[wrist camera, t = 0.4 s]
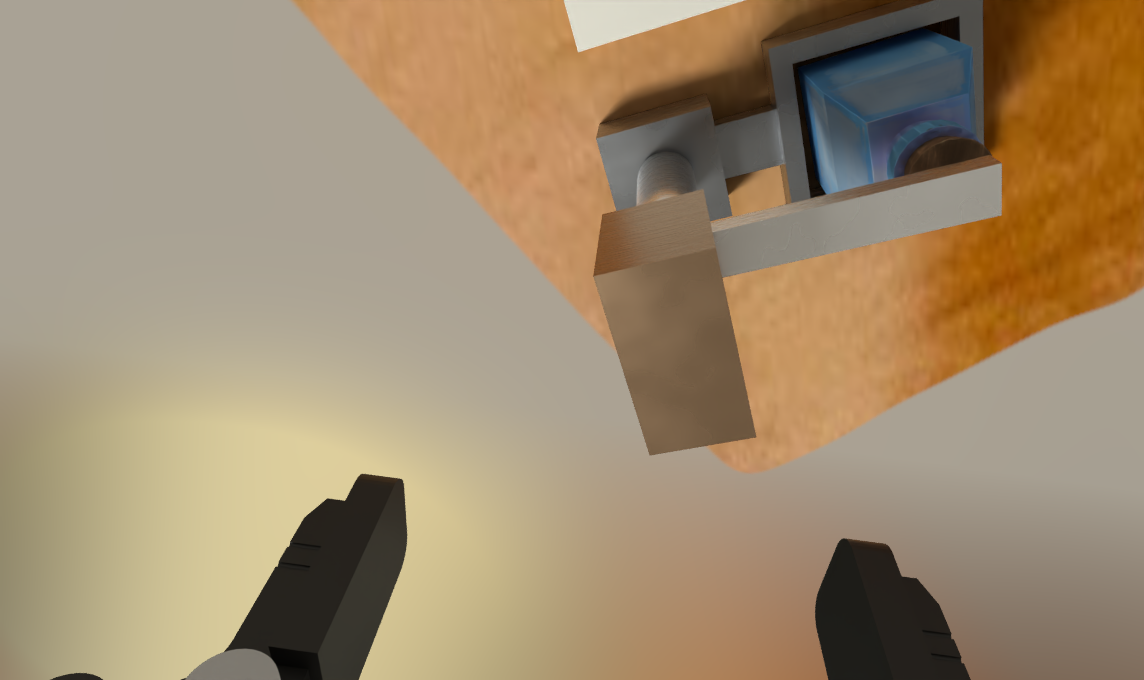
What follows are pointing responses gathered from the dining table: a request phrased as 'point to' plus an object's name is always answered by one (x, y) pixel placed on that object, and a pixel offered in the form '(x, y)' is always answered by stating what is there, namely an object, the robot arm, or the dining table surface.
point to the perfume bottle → (890, 110)
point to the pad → (629, 17)
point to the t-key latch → (733, 246)
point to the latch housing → (771, 108)
